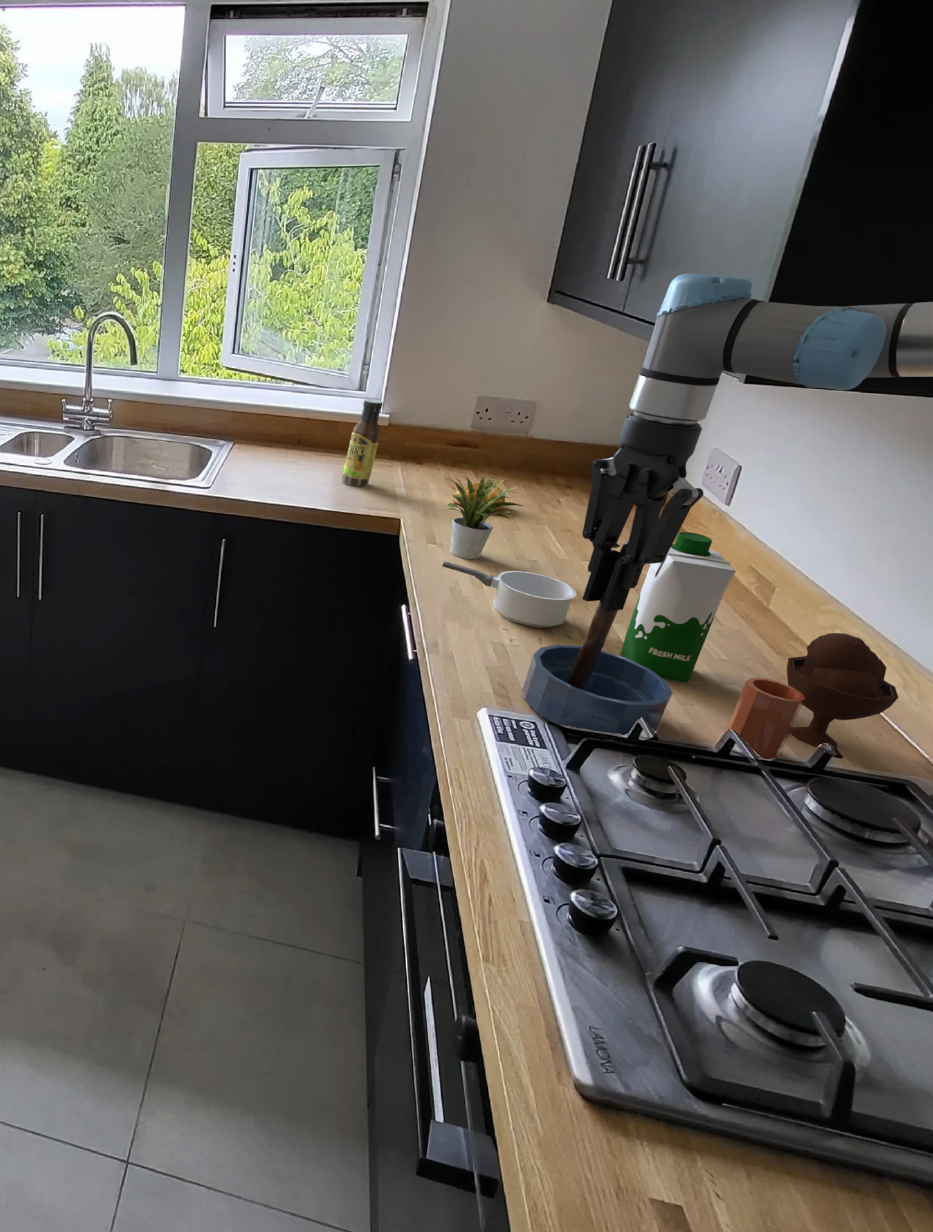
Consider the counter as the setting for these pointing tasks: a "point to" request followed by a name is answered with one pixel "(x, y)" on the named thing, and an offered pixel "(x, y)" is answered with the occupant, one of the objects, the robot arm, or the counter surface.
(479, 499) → the house plant
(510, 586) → the saucepan
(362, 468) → the sauce bottle
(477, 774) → the counter surface
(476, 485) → the bagel
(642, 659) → the milk carton
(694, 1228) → the counter surface
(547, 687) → the mixing bowl
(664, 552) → the robot arm
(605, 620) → the cooking stick
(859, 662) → the ice cream bowl
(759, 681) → the utensil pot
